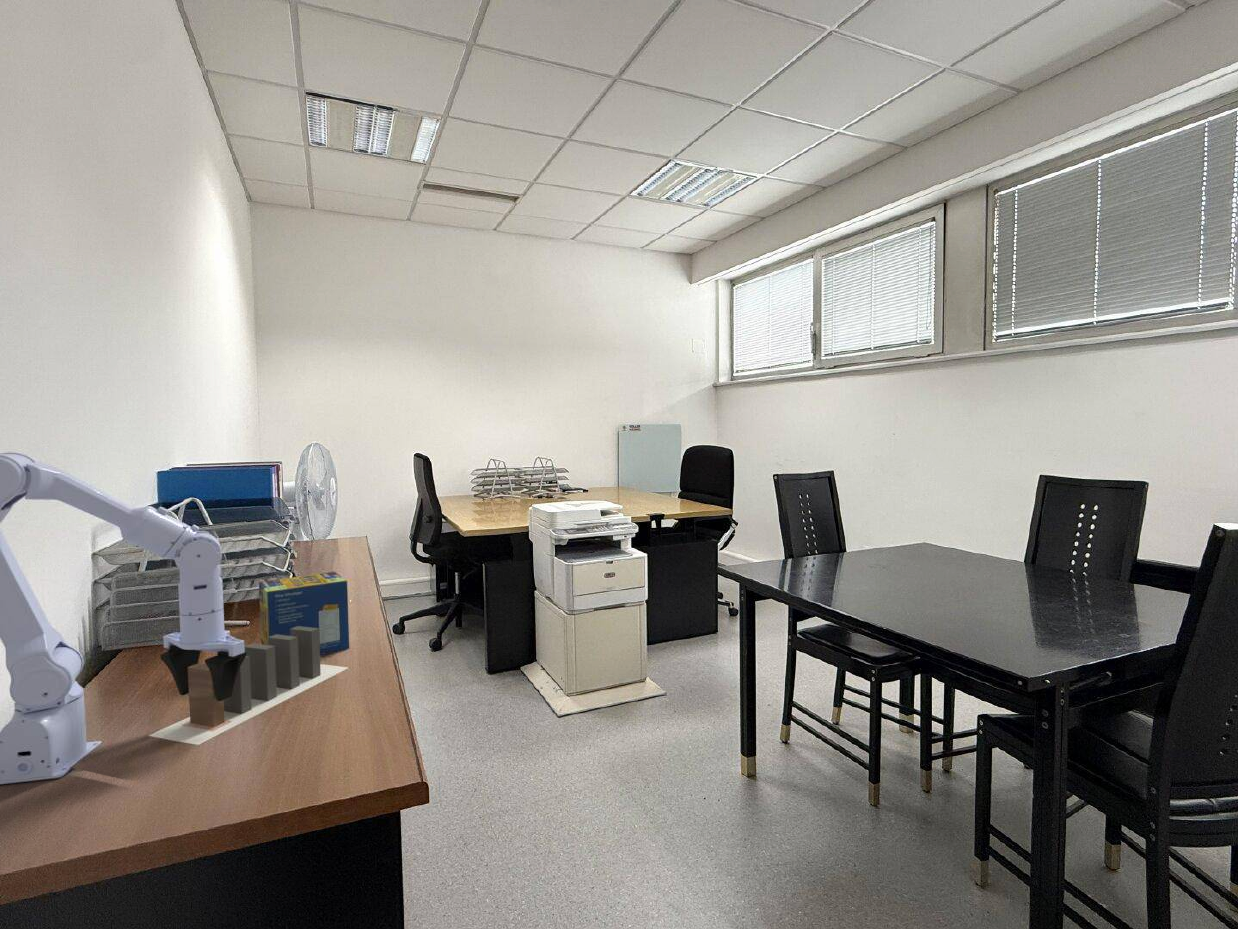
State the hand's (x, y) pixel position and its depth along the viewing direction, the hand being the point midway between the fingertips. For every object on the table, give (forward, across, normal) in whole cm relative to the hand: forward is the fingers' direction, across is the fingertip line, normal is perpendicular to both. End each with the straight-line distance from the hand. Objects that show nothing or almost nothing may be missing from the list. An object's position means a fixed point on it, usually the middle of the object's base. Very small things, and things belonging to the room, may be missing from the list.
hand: (205, 695), depth 97 cm
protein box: (+5, +11, -31) cm, 34 cm away
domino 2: (+4, 0, -5) cm, 7 cm away
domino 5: (+4, 0, -20) cm, 20 cm away
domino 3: (+4, 0, -10) cm, 11 cm away
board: (+5, 0, -10) cm, 11 cm away
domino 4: (+4, 0, -15) cm, 16 cm away
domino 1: (+4, 0, 0) cm, 4 cm away
